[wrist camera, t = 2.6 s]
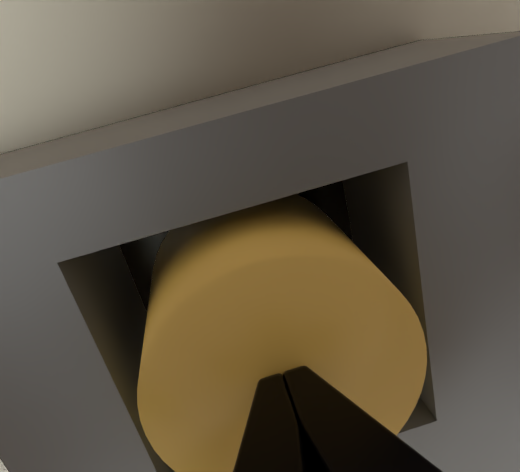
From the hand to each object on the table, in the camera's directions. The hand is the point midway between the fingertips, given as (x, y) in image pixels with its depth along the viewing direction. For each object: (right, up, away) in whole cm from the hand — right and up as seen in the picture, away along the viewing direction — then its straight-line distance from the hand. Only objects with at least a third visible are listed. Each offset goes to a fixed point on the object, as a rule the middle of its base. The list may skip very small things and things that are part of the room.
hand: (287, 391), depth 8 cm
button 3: (-1, +1, +4) cm, 4 cm away
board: (+1, -5, +8) cm, 9 cm away
